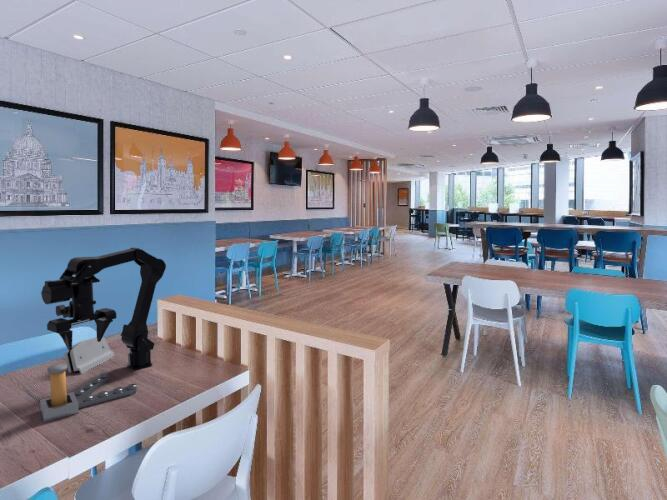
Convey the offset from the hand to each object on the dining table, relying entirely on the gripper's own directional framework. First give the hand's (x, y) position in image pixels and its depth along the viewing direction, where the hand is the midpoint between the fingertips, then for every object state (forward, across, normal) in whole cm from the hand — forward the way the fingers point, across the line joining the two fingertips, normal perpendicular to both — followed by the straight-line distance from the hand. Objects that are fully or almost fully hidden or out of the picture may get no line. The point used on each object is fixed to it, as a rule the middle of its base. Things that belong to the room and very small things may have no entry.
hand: (84, 345), depth 130 cm
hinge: (+13, -10, -15) cm, 23 cm away
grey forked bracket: (+13, +4, +7) cm, 15 cm away
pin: (+13, +13, +10) cm, 21 cm away
